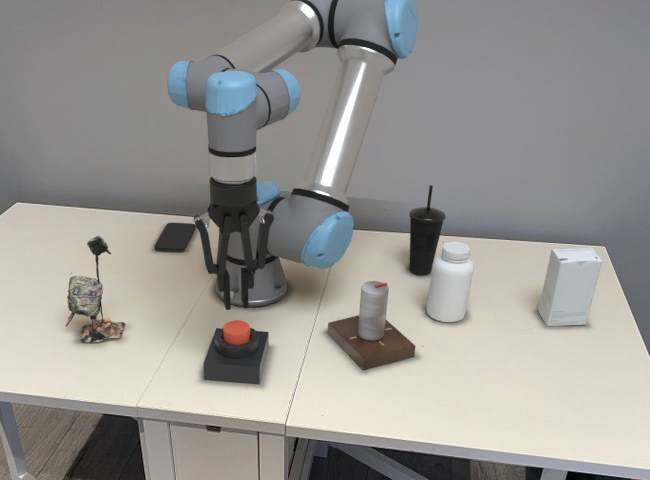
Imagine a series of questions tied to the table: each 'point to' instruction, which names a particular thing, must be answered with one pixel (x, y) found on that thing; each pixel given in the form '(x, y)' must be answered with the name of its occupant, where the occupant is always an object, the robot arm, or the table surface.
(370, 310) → the dial
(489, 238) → the table surface
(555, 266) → the cosmetic box
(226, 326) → the red push button
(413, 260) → the drinking cup
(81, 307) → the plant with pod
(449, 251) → the pill bottle
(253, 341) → the button base
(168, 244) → the phone
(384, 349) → the panel
